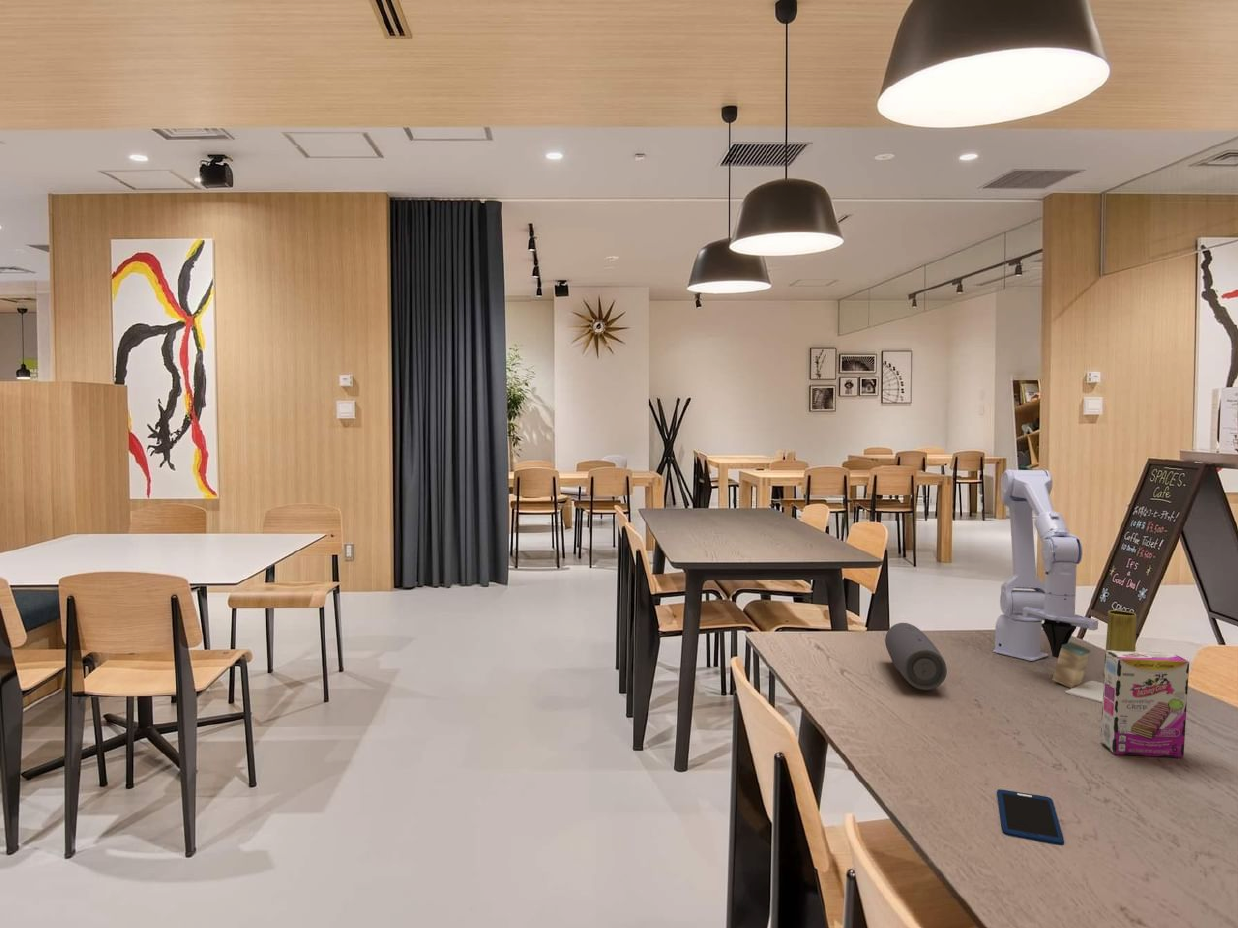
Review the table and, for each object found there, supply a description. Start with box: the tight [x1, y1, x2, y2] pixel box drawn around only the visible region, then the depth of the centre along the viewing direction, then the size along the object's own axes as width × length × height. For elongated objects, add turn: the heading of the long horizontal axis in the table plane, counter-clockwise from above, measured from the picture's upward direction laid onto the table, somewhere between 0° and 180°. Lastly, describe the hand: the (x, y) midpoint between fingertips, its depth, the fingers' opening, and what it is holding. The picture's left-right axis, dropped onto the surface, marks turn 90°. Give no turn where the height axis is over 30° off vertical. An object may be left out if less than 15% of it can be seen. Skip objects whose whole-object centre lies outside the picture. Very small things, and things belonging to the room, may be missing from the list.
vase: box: [1102, 609, 1137, 676], centre depth 172 cm, size 6×6×14 cm
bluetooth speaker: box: [884, 622, 948, 691], centre depth 171 cm, size 23×9×10 cm, turn 171°
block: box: [1051, 641, 1091, 689], centre depth 167 cm, size 4×4×8 cm
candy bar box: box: [1100, 650, 1190, 758], centre depth 133 cm, size 11×5×16 cm, turn 84°
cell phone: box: [996, 789, 1065, 846], centre depth 111 cm, size 7×14×1 cm, turn 158°
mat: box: [1064, 680, 1104, 704], centre depth 163 cm, size 9×12×1 cm
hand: (1057, 656), depth 169 cm, fingers closed
